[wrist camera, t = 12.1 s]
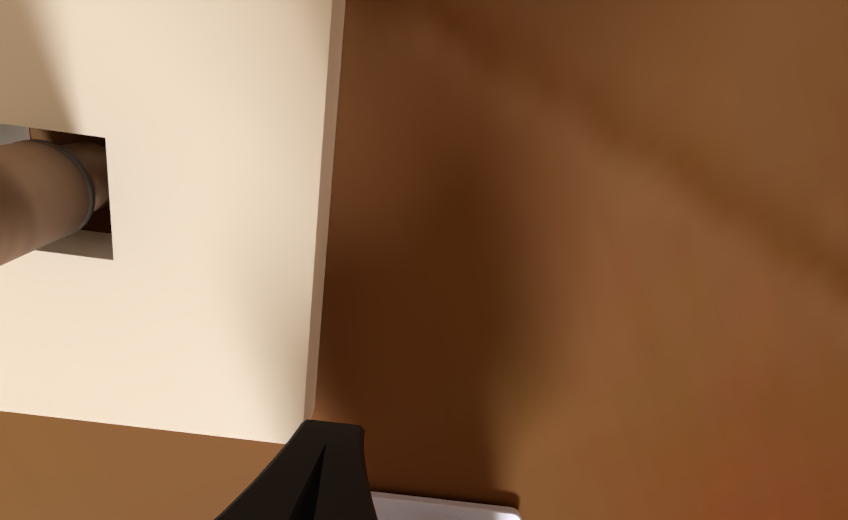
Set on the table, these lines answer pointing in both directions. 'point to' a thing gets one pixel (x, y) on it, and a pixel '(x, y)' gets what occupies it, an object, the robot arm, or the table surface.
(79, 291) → the cream board
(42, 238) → the walnut peg
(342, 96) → the table surface
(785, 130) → the table surface
